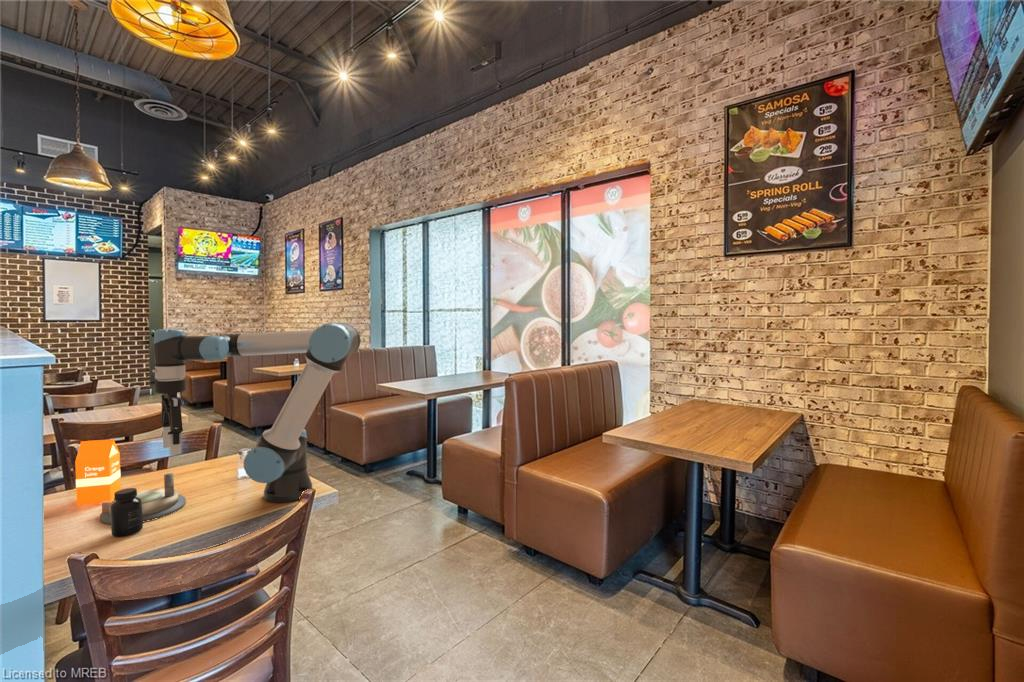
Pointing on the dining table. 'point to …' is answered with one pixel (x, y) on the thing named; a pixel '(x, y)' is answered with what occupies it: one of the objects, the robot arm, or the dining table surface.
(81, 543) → the dining table surface
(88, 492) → the orange juice
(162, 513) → the base
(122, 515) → the supplement bottle
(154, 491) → the turntable
